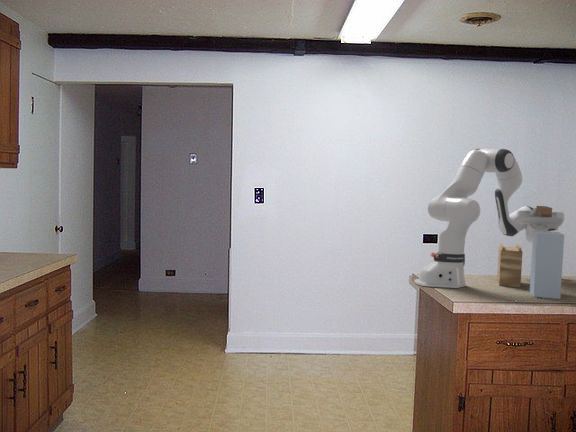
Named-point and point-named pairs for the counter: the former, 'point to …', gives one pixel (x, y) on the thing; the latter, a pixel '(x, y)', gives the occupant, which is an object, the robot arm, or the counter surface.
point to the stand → (546, 264)
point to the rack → (509, 266)
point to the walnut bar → (544, 211)
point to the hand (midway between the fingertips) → (542, 209)
